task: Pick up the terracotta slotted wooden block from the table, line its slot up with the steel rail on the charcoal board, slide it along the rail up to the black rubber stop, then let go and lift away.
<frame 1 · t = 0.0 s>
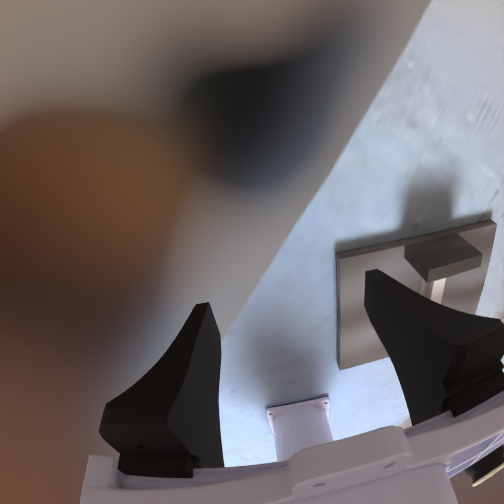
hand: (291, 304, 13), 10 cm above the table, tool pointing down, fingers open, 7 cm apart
rail board: (419, 296, 27), on the table
travel mug: (455, 401, 41), on the table
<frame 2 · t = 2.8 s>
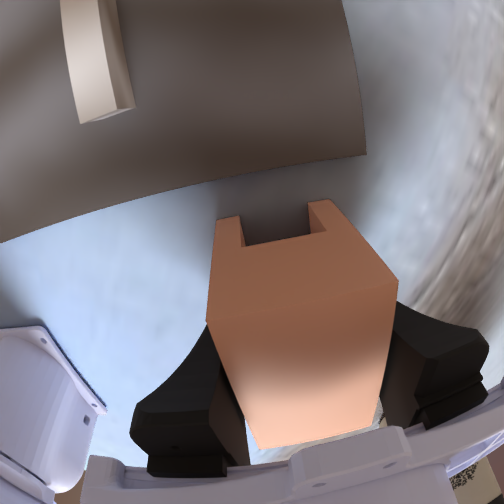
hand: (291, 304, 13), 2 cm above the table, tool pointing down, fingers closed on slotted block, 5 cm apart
slotted block: (285, 284, 15), on the table, touching gripper
rail board: (112, 37, 9), on the table
travel mug: (414, 406, 23), on the table
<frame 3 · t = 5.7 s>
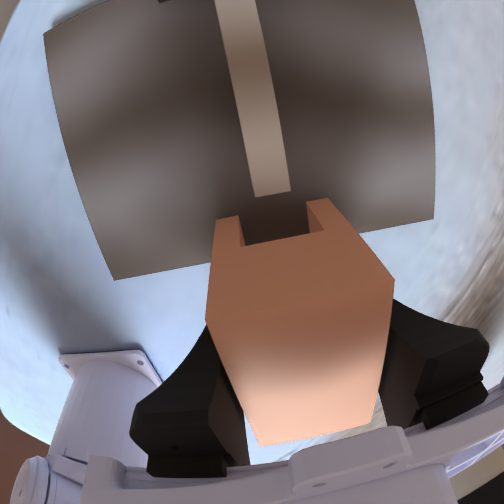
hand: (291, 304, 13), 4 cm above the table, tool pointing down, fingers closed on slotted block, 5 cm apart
slotted block: (285, 283, 15), point 2 cm above the table, touching gripper
rail board: (251, 104, 13), on the table
travel mug: (436, 398, 27), on the table
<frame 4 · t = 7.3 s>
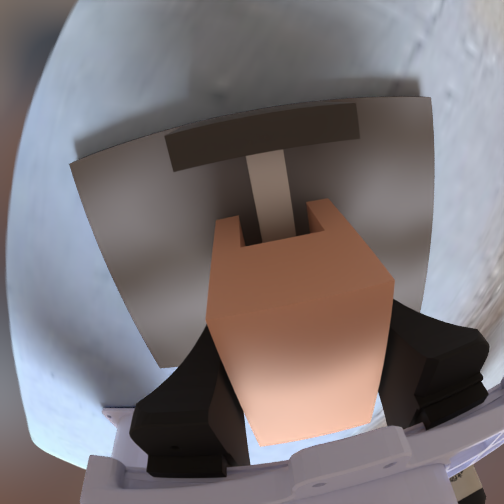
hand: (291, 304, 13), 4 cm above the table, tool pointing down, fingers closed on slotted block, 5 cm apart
slotted block: (285, 283, 15), point 2 cm above the table, touching gripper
rail board: (276, 244, 16), on the table
travel mug: (422, 426, 30), on the table
when the fingers open (4 cm above the table, at t = 8.5 s): slotted block stays where it is, resting on rail board.
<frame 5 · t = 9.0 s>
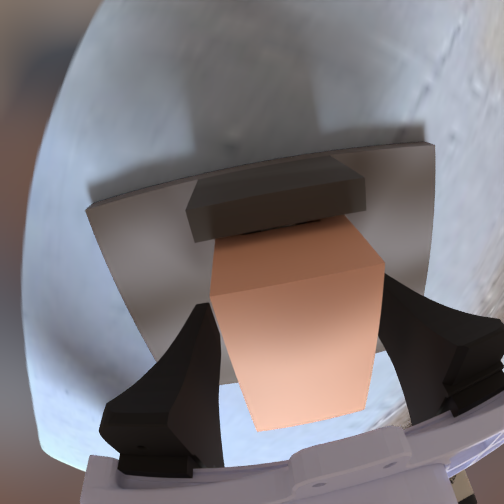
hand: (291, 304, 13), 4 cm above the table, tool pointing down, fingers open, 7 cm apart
slotted block: (283, 274, 16), point 1 cm above the table, touching rail board
rail board: (283, 283, 17), on the table
travel mug: (417, 433, 31), on the table
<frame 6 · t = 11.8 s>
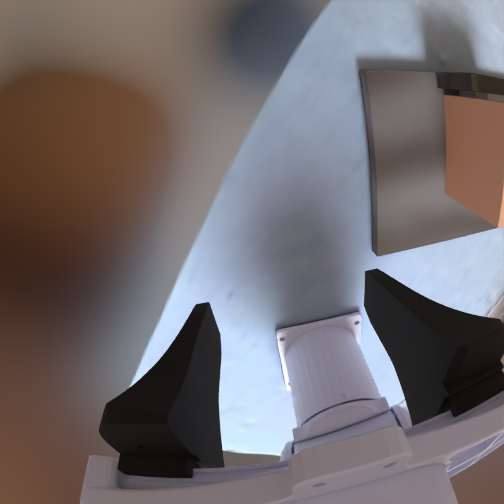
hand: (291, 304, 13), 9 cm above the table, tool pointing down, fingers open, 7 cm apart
slotted block: (467, 145, 18), point 1 cm above the table, touching rail board
rail board: (460, 157, 20), on the table
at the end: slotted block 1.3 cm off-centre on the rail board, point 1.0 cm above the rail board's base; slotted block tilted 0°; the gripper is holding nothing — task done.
